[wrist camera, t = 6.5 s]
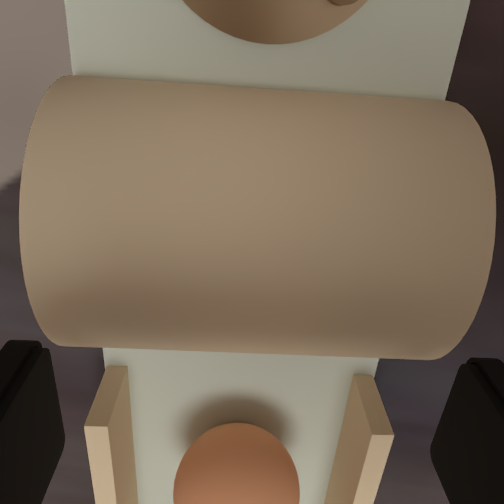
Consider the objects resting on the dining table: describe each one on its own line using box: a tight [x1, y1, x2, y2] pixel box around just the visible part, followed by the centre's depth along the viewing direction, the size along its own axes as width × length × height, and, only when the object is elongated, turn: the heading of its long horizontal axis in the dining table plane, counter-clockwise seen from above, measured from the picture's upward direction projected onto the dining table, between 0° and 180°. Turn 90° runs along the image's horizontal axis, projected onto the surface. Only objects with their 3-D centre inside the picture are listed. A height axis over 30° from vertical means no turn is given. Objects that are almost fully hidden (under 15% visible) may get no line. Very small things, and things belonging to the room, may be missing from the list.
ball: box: [173, 423, 300, 504], centre depth 18 cm, size 5×5×5 cm
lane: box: [19, 0, 496, 504], centre depth 17 cm, size 11×36×8 cm, turn 176°
